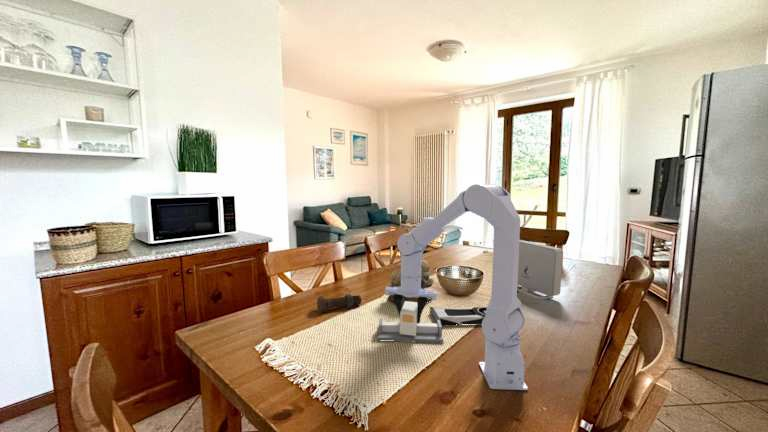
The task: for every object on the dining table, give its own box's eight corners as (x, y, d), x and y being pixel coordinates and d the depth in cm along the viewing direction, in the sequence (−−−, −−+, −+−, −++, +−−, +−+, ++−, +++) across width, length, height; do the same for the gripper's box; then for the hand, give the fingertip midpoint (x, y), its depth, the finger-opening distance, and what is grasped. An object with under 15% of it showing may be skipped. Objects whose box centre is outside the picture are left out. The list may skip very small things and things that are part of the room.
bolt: (360, 310, 111) (319, 316, 104) (356, 299, 115) (316, 304, 108) (364, 299, 108) (321, 305, 101) (360, 288, 111) (318, 293, 105)
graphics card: (429, 306, 104) (501, 304, 106) (429, 315, 104) (500, 313, 106) (437, 319, 94) (516, 317, 96) (437, 330, 94) (516, 327, 96)
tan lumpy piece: (426, 292, 125) (428, 250, 123) (439, 303, 114) (441, 258, 112) (383, 295, 120) (384, 252, 118) (392, 308, 109) (394, 260, 107)
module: (415, 336, 85) (415, 314, 84) (399, 334, 86) (400, 312, 85) (419, 322, 93) (419, 302, 92) (404, 321, 94) (405, 301, 93)
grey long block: (443, 343, 85) (443, 330, 85) (377, 341, 86) (378, 329, 85) (438, 327, 94) (438, 316, 94) (379, 326, 95) (379, 315, 94)
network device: (496, 282, 138) (499, 238, 136) (511, 280, 142) (514, 237, 140) (548, 303, 115) (552, 250, 113) (564, 299, 119) (568, 248, 116)
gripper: (382, 277, 86) (382, 323, 87) (435, 281, 83) (434, 330, 84) (388, 270, 93) (387, 313, 94) (437, 274, 89) (436, 319, 91)
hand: (409, 320), depth 90 cm, fingers closed on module, 4 cm apart
